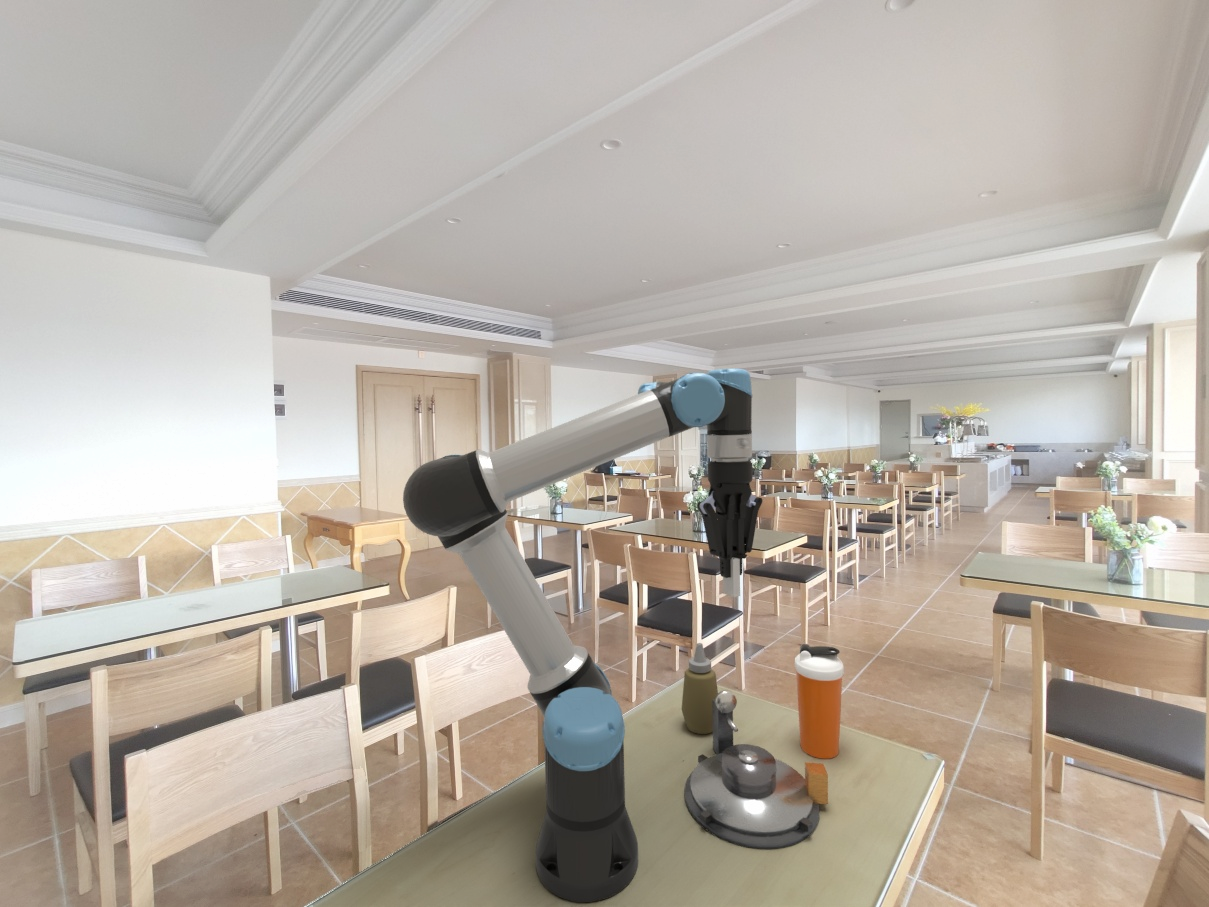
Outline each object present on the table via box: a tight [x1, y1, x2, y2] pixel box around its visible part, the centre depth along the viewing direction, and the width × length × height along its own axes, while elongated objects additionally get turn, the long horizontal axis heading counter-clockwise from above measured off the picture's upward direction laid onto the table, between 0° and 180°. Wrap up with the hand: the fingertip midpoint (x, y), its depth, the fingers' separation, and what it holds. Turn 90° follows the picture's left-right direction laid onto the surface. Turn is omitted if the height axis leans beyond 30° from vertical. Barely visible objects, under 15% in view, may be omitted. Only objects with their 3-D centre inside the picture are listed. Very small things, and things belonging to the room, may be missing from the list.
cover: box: [722, 743, 776, 799], centre depth 95 cm, size 9×9×5 cm
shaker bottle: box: [794, 643, 845, 760], centre depth 108 cm, size 9×9×20 cm
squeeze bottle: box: [681, 642, 719, 735], centre depth 117 cm, size 8×8×18 cm
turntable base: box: [684, 769, 820, 850], centre depth 94 cm, size 22×22×1 cm
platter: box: [690, 753, 829, 836], centre depth 94 cm, size 20×22×5 cm
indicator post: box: [712, 689, 739, 755], centre depth 106 cm, size 4×8×13 cm, turn 10°
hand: (731, 594), depth 97 cm, fingers closed
